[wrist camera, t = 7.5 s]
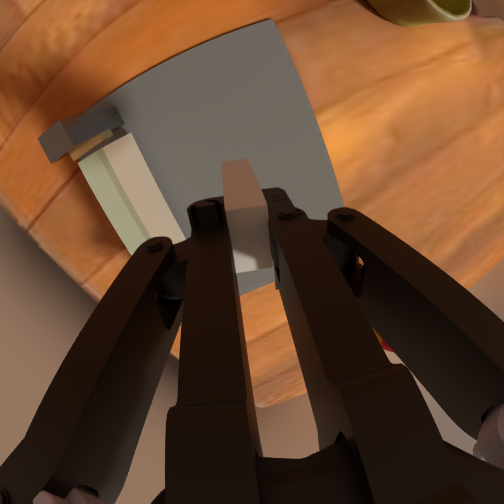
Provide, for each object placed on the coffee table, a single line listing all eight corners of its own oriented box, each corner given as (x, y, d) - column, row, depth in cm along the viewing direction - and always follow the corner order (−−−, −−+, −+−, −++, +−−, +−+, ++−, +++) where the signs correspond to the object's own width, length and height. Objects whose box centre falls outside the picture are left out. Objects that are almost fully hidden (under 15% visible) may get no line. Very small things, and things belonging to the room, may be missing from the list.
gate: (201, 259, 31) (199, 321, 23) (188, 264, 31) (181, 326, 23) (135, 130, 23) (96, 151, 15) (120, 138, 23) (77, 163, 15)
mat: (63, 128, 22) (62, 129, 22) (271, 19, 19) (272, 18, 19) (186, 314, 35) (186, 316, 35) (353, 245, 33) (354, 246, 32)
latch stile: (96, 119, 22) (33, 142, 13) (120, 104, 22) (63, 115, 12) (108, 142, 23) (51, 175, 14) (132, 126, 23) (82, 150, 14)
